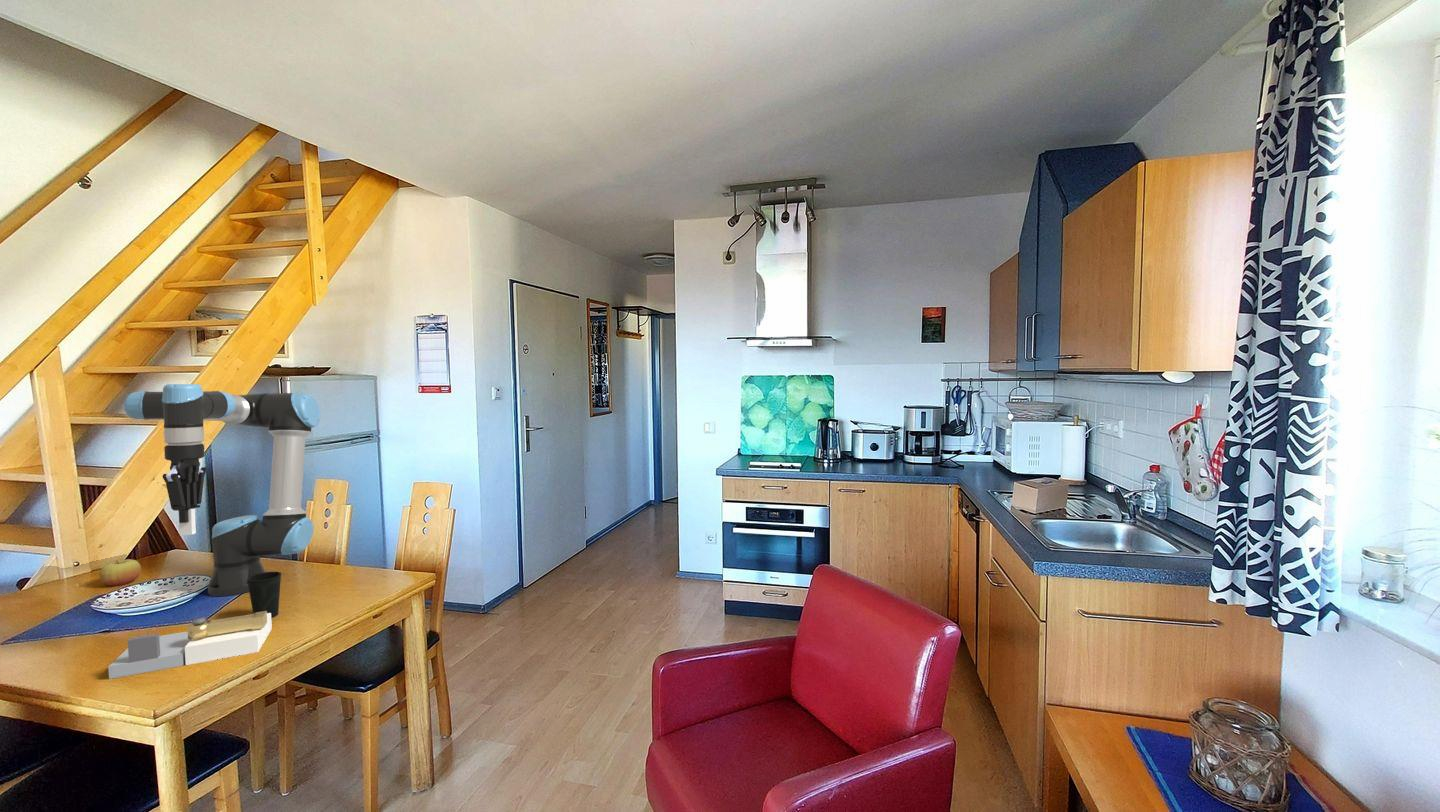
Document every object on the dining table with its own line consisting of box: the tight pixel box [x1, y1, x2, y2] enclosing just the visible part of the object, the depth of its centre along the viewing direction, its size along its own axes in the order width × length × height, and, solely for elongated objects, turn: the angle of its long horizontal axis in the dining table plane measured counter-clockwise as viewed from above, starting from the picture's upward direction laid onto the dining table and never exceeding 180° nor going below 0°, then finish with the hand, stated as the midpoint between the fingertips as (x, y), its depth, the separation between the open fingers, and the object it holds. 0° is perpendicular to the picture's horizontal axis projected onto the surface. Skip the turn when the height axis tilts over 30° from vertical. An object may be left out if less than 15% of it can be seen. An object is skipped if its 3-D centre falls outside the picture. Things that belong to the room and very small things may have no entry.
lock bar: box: [186, 611, 267, 640], centre depth 146 cm, size 4×15×3 cm, turn 118°
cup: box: [247, 571, 282, 619], centre depth 166 cm, size 8×8×12 cm
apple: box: [98, 558, 142, 587], centre depth 191 cm, size 10×10×8 cm
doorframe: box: [107, 613, 273, 680], centre depth 145 cm, size 15×28×9 cm, turn 118°
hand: (187, 534), depth 148 cm, fingers closed
